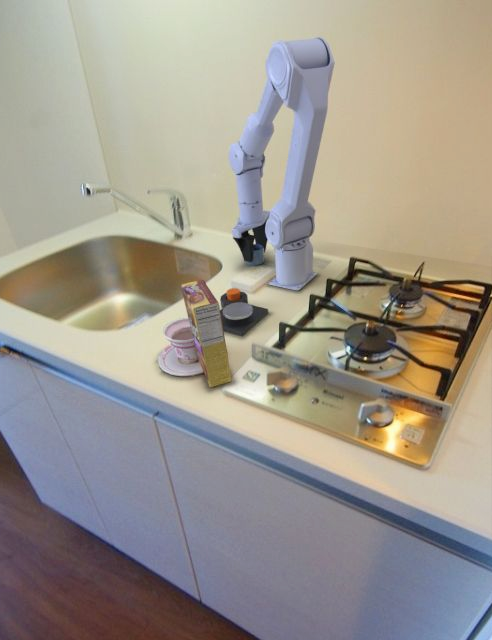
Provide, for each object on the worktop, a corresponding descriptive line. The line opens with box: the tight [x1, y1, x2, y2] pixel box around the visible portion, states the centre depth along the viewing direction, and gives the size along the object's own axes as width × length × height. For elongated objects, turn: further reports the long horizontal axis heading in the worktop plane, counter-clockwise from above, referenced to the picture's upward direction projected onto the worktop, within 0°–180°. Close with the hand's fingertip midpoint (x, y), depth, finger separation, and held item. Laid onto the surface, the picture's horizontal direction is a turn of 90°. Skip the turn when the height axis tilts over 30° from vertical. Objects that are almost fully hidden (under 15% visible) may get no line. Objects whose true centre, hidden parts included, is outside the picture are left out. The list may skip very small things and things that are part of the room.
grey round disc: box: [222, 302, 253, 320], centre depth 85 cm, size 6×6×1 cm
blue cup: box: [245, 243, 266, 267], centre depth 109 cm, size 5×5×4 cm
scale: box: [219, 290, 269, 337], centre depth 88 cm, size 11×10×3 cm
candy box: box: [180, 279, 233, 388], centre depth 70 cm, size 9×4×15 cm, turn 20°
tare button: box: [226, 287, 241, 301], centre depth 90 cm, size 3×3×2 cm
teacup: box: [157, 317, 204, 377], centre depth 77 cm, size 12×12×6 cm
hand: (254, 256), depth 110 cm, fingers open, 6 cm apart
